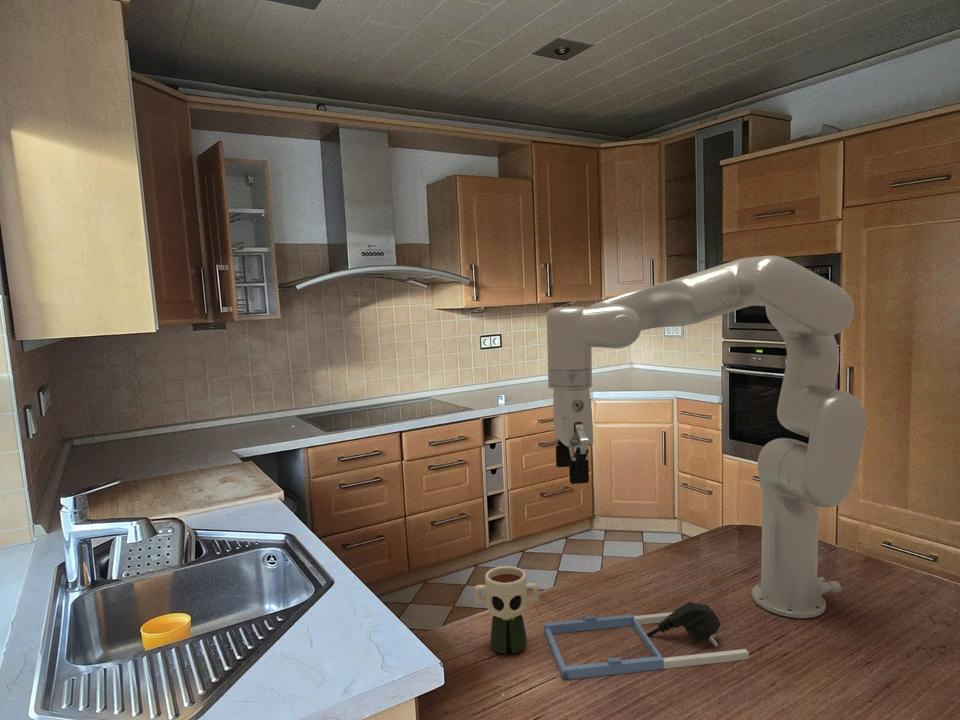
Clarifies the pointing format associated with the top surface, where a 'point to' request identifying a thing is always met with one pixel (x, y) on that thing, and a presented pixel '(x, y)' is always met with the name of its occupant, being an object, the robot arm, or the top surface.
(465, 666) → the top surface
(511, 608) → the character mug
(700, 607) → the power plug
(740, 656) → the blue cream pronged frame
